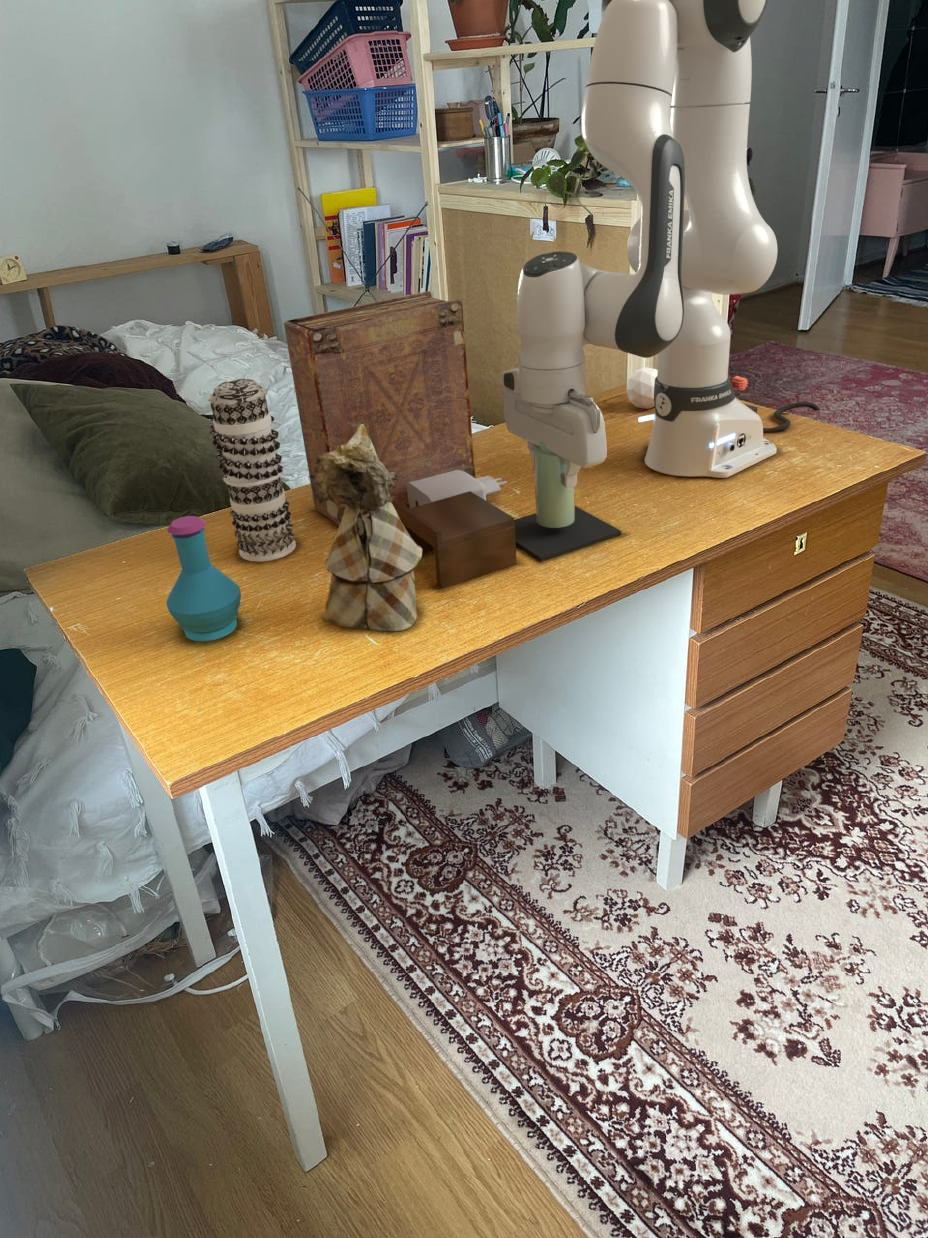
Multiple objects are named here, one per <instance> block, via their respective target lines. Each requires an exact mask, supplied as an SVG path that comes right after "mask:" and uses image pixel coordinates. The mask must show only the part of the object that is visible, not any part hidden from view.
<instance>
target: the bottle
mask: <svg viewBox="0 0 928 1238" xmlns="http://www.w3.org/2000/svg"><path fill="white" fill-rule="evenodd" d="M539 445H540V447H539V446H536V447H535V448H534V466H535V470H534V491H535V513H536V521H537V523H538V524H539V525H541V526H543V527H548V528H561V527H566V526H569V525H571V524H572V523H573V522H574V521H575V506H576V503H575V501H576V499H575V495H576V494H575V489H576V488H575V486H574V487H570V488H568V487H566V486H564V485H562V484H561V473H565V470H566V467H567V465H565V464H564V458H562V457H560V456H558V455H556V454H554V453H552V452H550V451H548V448H547V445H546V444H544V443H542V442H539Z"/></svg>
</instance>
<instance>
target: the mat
mask: <svg viewBox="0 0 928 1238" xmlns="http://www.w3.org/2000/svg"><path fill="white" fill-rule="evenodd" d="M514 520H515V541H516V547H518V548H519V549H520V550H522V551H524V552H525V553H527V554H529V555H530V556H532V557H533V558H535V559H536V560H537V561H538V562H544V561H547V560H550V559H553V558H556V557H559V556H561V555H565V554H568V553H571V552H574V551H576V550H580V549H582V548H583V549H584V548H586V547H588V546H591V545H595V544H598V543H600V542H603V541H606V540H610V539H612V538H615V537H619V536H622V530H620V529H619V528H617V527H614V526H613V525H611V524H610V523H608V522H606V521H604V520H602V519H601V518H598V517H596V516H595V515H593V514H591V513H590V512H588V511H586V510H584V509H581V508H580V507H578V506H576V505H575V521H574V522H573V523H572V524H571V525H569V526H566V527H561V528H548V527H543V526H541V525H539V524H538V523H537V521H536V512H535V513H532V514H528V515H525V516H522V517H520V518H516V519H514Z"/></svg>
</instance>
